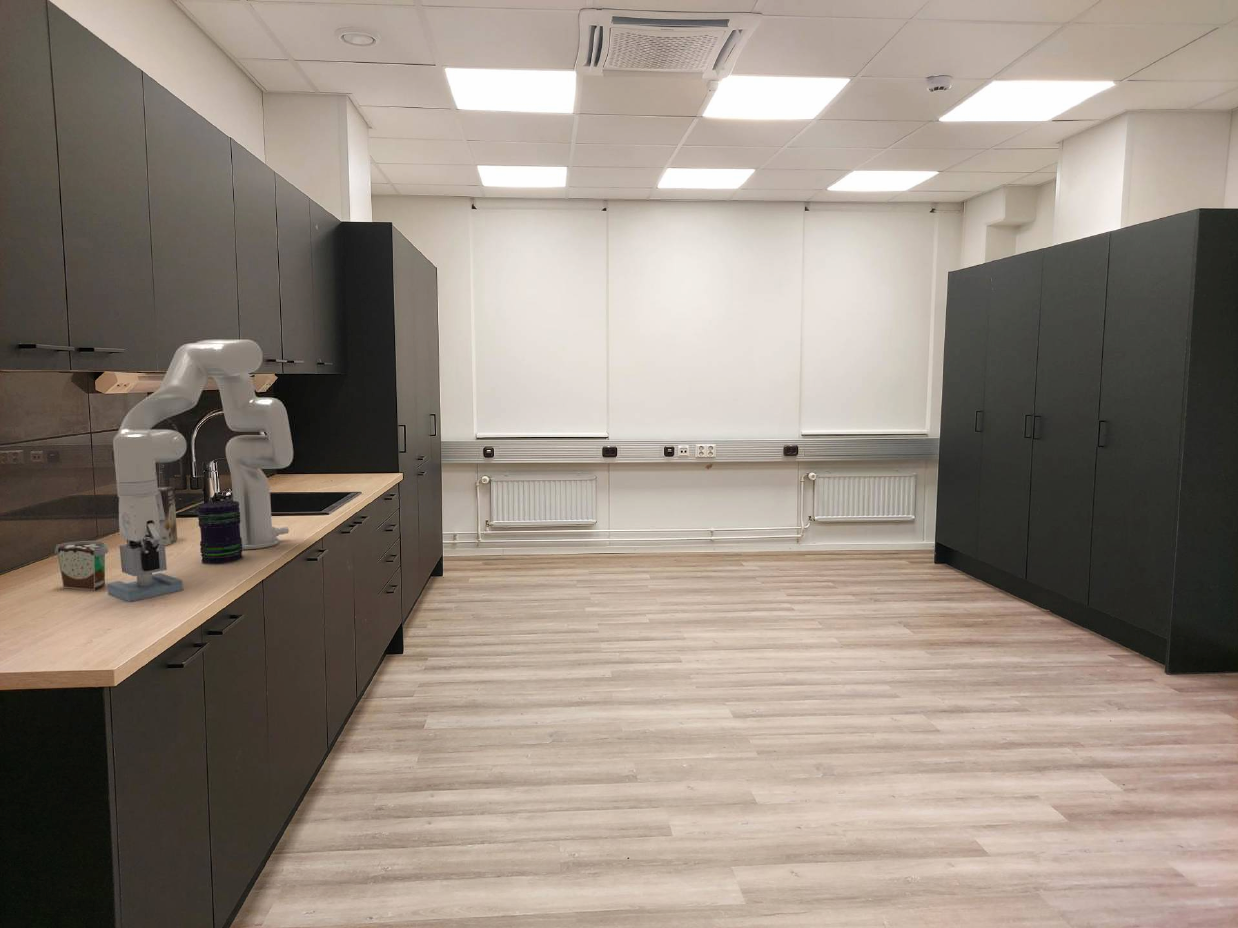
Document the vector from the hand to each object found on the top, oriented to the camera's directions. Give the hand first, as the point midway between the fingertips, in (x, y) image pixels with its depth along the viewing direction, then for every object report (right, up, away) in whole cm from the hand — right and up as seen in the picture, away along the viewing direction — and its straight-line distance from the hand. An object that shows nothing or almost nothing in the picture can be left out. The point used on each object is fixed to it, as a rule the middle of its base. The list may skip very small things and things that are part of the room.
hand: (144, 566), depth 169 cm
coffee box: (-27, 0, +51) cm, 58 cm away
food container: (-16, -5, +6) cm, 18 cm away
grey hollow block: (0, -1, 0) cm, 1 cm away
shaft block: (0, -6, 0) cm, 6 cm away
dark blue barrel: (+2, -2, +30) cm, 30 cm away
